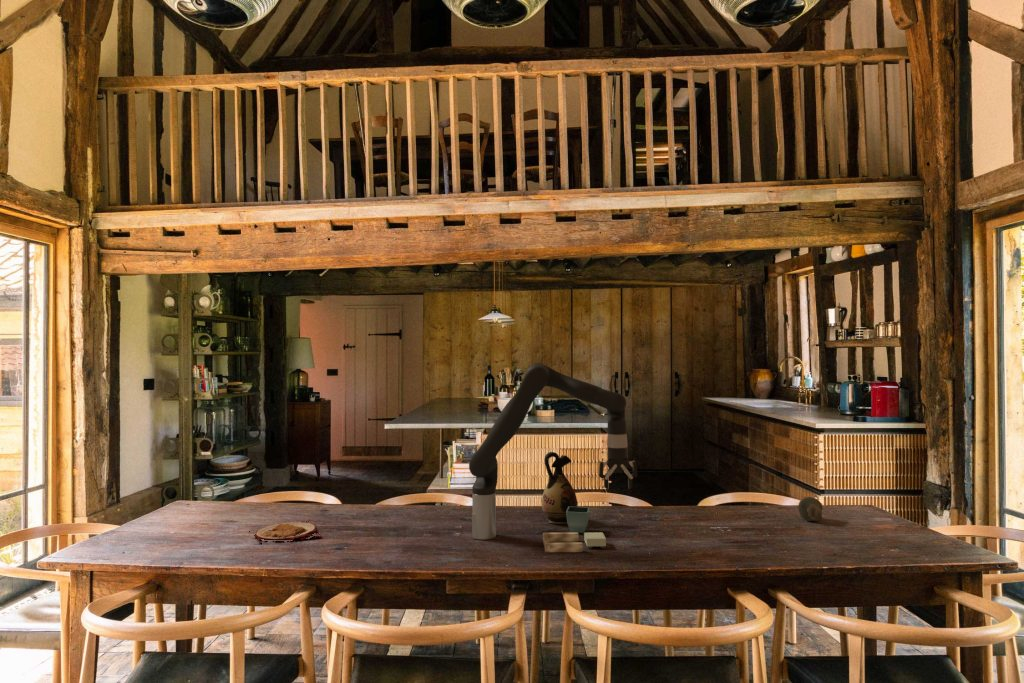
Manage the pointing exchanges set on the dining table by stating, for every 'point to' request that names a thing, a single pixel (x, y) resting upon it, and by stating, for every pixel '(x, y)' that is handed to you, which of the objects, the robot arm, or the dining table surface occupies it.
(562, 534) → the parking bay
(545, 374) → the robot arm
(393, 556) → the dining table surface
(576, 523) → the flower pot
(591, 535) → the cream footed box
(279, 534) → the plate with food
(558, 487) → the ceramic jug
